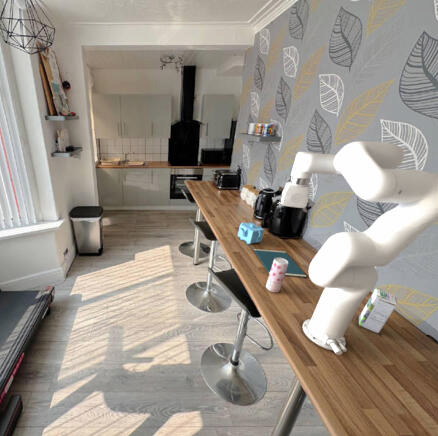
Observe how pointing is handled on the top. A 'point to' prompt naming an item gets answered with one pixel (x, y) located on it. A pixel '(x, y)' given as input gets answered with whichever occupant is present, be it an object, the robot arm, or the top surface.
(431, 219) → the robot arm
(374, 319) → the syrup box
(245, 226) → the light blue box
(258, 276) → the top surface
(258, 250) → the teal book
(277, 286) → the beverage can
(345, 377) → the top surface
